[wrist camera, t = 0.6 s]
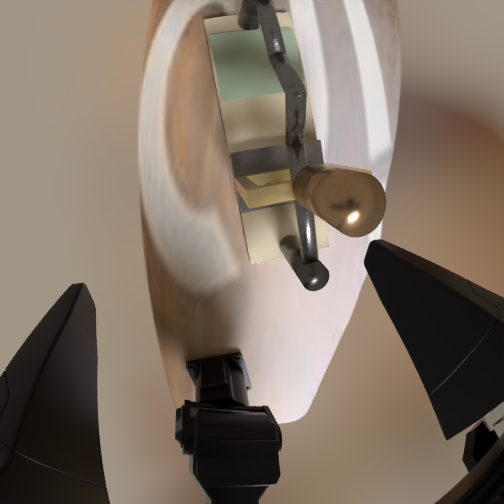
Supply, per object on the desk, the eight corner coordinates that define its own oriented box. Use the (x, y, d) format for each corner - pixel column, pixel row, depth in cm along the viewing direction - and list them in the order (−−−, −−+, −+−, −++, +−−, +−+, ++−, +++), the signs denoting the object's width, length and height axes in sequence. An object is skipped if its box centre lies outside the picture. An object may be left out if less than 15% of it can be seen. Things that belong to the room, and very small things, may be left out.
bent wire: (301, 253, 25) (338, 298, 17) (280, 258, 25) (310, 305, 17) (258, 13, 17) (279, -38, 9) (235, 15, 16) (248, -38, 9)
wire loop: (324, 195, 23) (426, 244, 11) (240, 211, 23) (275, 285, 11) (316, 140, 22) (424, 138, 9) (229, 153, 21) (252, 153, 9)
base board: (327, 245, 26) (330, 247, 25) (250, 262, 25) (251, 265, 25) (287, 14, 17) (289, 11, 17) (203, 21, 17) (203, 18, 16)
